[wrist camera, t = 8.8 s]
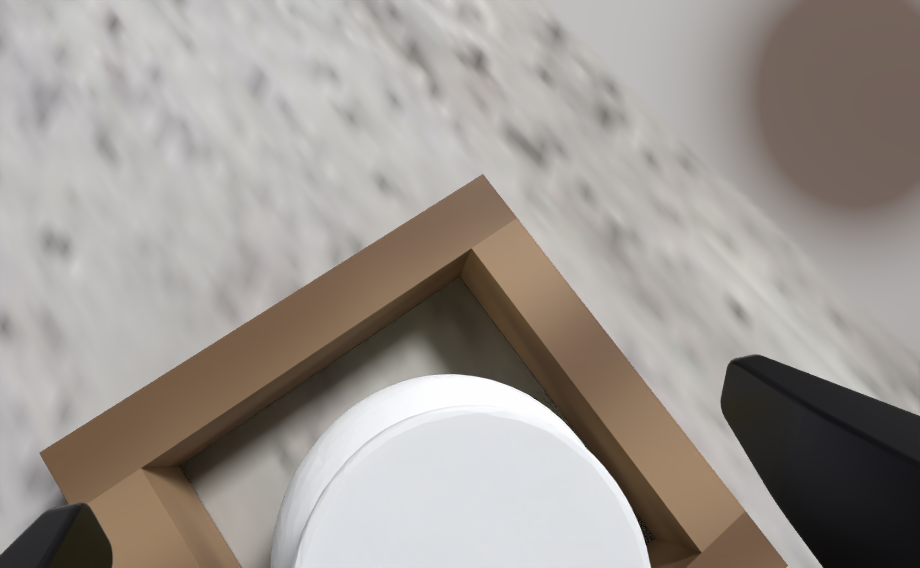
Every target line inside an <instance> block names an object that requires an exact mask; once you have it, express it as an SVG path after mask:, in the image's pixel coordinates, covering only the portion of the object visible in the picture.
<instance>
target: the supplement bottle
mask: <svg viewBox="0 0 920 568" xmlns="http://www.w3.org/2000/svg"><path fill="white" fill-rule="evenodd" d="M270 568H651V566H650V561H649V557H648V552H647V547H646V544H645V541H644V538H643V534H642V531H641V528H640V526H639V524H638V521H637V519H636V517H635V515H634V512H633V510H632V508H631V506H630V504H629V502H628V501H627V499H626V497H625V496H624V494H623V492H622V491H621V489H620V488H619V486H618V484H617V483H616V481H615V480H614V479H613V478H612V476H611V475H610V474H609V472H608V471H607V470H606V469H605V467H604V466H603V465H602V464H601V463H600V462H599V461H598V459H597V458H596V457H595V456H594V455H593V454H592V453H591V452H590V451H589V450H587V449H586V447H585V446H584V444H583V443H582V442H581V440H580V439H579V438H578V437H577V436H576V435H575V433H574V432H573V431H572V430H571V429H570V428H569V427H568V426H567V425H566V424H565V423H564V422H563V421H562V420H561V419H560V418H559V417H558V416H557V415H555V414H554V413H553V412H552V411H551V410H550V409H548V408H547V407H546V406H544V405H543V404H541V403H540V402H538V401H537V400H535V399H534V398H532V397H531V396H529V395H528V394H526V393H523V392H521V391H519V390H517V389H515V388H513V387H511V386H508V385H505V384H502V383H499V382H496V381H493V380H490V379H485V378H481V377H476V376H468V375H458V374H444V375H429V376H424V377H418V378H413V379H409V380H405V381H402V382H400V383H397V384H394V385H391V386H389V387H386V388H384V389H382V390H380V391H378V392H376V393H374V394H372V395H370V396H368V397H367V398H365V399H363V400H362V401H360V402H358V403H357V404H356V405H354V406H353V407H352V408H350V409H349V410H347V411H346V412H345V413H344V414H342V415H341V416H340V417H339V418H338V419H337V420H336V421H335V422H334V423H332V425H331V426H330V427H329V428H328V429H327V430H326V431H325V432H324V433H323V434H322V435H321V436H320V438H319V439H318V440H317V441H316V443H315V444H314V445H313V446H312V448H311V449H310V450H309V452H308V453H307V454H306V456H305V457H304V459H303V460H302V462H301V463H300V465H299V467H298V469H297V470H296V472H295V474H294V476H293V478H292V480H291V482H290V484H289V486H288V488H287V490H286V493H285V496H284V499H283V501H282V504H281V507H280V511H279V514H278V517H277V522H276V526H275V530H274V535H273V541H272V550H271V563H270Z"/></svg>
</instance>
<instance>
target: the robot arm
mask: <svg viewBox="0 0 920 568" xmlns="http://www.w3.org/2000/svg"><path fill="white" fill-rule="evenodd" d="M721 409H722V412H723V415H724V417H725V419H726V420H727V422H728V424H729V426H730V427H731V429H732V431H733V432H734V434H735V436H736V437H737V439H738V441H739V442H740V444H741V446H742V447H743V449H744V451H745V452H746V454H747V456H748V457H749V459H750V461H751V462H752V464H753V466H754V467H755V469H756V471H757V472H758V474H759V476H760V478H761V479H762V481H763V483H764V484H765V486H766V488H767V489H768V491H769V492H770V494H771V495H772V497H773V499H774V500H775V502H776V503H777V505H778V506H779V508H780V509H781V511H782V512H783V513H784V515H785V516H786V518H787V519H788V520H789V522H790V523H791V525H792V526H793V527H794V529H795V530H796V531H797V533H798V534H799V535H800V537H801V538H802V539H803V541H804V542H805V544H806V545H807V546H808V548H809V549H810V550H811V552H812V553H813V554H814V556H815V557H816V559H817V560H818V561H819V563H820V564H821V565H822V567H823V568H920V416H919V415H916V414H913V413H911V412H908V411H905V410H903V409H900V408H898V407H895V406H892V405H890V404H887V403H884V402H882V401H879V400H877V399H874V398H871V397H869V396H866V395H864V394H861V393H858V392H856V391H853V390H850V389H848V388H845V387H843V386H840V385H837V384H835V383H832V382H830V381H827V380H824V379H822V378H819V377H816V376H814V375H811V374H809V373H806V372H803V371H801V370H798V369H796V368H793V367H790V366H788V365H785V364H782V363H780V362H777V361H775V360H772V359H769V358H767V357H764V356H761V355H749V356H744V357H739V358H735V359H733V360H731V361H730V363H729V364H728V366H727V370H726V375H725V380H724V385H723V390H722V395H721ZM112 565H113V552H112V546H111V543H110V541H109V539H108V537H107V535H106V534H105V532H104V530H103V528H102V527H101V525H100V523H99V521H98V519H97V518H96V516H95V514H94V512H93V511H92V509H91V508H90V506H89V505H87V504H86V503H81V502H78V503H73V504H69V505H64V506H60V507H55V508H52V509H49V510H47V511H46V512H44V513H43V514H42V515H41V516H40V517H39V518H38V519H37V520H36V521H35V522H34V523H33V524H32V525H30V526H29V527H28V528H27V529H26V530H25V531H24V532H23V533H22V534H21V535H20V536H19V537H18V538H17V539H16V540H15V541H14V542H13V543H12V544H11V545H10V546H9V547H8V548H7V549H6V550H5V551H4V552H3V553H2V554H1V555H0V568H112Z"/></svg>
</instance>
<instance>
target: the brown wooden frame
mask: <svg viewBox="0 0 920 568" xmlns="http://www.w3.org/2000/svg"><path fill="white" fill-rule="evenodd" d="M458 277H461V279H462V280H463V281H464V283H465V284H466V285H467V287H468V288H469V289H470V291H471V292H472V293H473V295H474V296H475V297H476V299H477V300H478V301H479V303H480V304H481V305H482V307H483V308H484V309H485V311H486V312H487V313H488V315H489V316H490V317H491V319H492V320H493V321H494V323H495V324H496V326H497V327H498V328H499V330H500V331H501V332H502V334H503V335H504V336H505V338H506V339H507V340H508V342H509V343H510V344H511V346H512V347H513V348H514V350H515V351H516V352H517V354H518V355H519V356H520V358H521V359H522V360H523V362H524V363H525V364H526V366H527V367H528V368H529V370H530V371H531V372H532V374H533V375H534V377H535V378H536V379H537V381H538V382H539V383H540V385H541V386H542V387H543V389H544V390H545V391H546V393H547V394H548V395H549V397H550V398H551V399H552V401H553V402H554V403H555V405H556V406H557V407H558V409H559V410H560V411H561V413H562V414H563V415H564V417H565V418H566V419H567V421H568V422H569V423H570V425H571V426H572V428H573V429H574V430H575V432H576V433H577V434H578V436H579V437H580V438H581V440H582V441H583V442H584V444H585V445H586V446H587V448H588V449H589V450H590V452H591V453H592V454H593V455H594V456H595V457H596V458H597V459H598V461H599V462H600V463H601V464H602V465H603V466H604V467H605V469H606V470H607V471H608V472H609V474H610V475H611V476H612V478H613V479H614V480H615V481H616V483H617V484H618V486H619V488H620V489H621V491H622V492H623V494H624V496H625V497H626V499H627V501H628V502H629V504H630V505H631V507H632V508H633V509H634V511H635V512H636V513H637V515H638V516H639V517H640V519H641V520H642V521H643V523H644V524H645V526H646V527H647V528H648V530H649V531H650V532H651V534H652V535H653V536H654V539H653V540H652V541H651V542H650V543H649V544H648V545H646V547H647V552H648V557H649V561H650V566H651V568H786V567H787V566H788V565H787V564H786V562H785V561H784V560H783V559H782V557H781V556H780V555H779V554H778V552H777V551H776V550H775V548H774V547H773V546H772V545H771V543H770V542H769V541H768V539H767V538H766V537H765V536H764V534H763V533H762V532H761V530H760V529H759V528H758V527H757V525H756V524H755V523H754V521H753V520H752V519H751V518H750V516H749V515H748V514H747V512H746V511H745V510H744V509H743V507H742V506H741V505H740V503H739V502H738V501H737V500H736V498H735V497H734V496H733V494H732V493H731V492H730V491H729V489H728V488H727V487H726V485H725V484H724V483H723V482H722V480H721V479H720V478H719V476H718V475H717V474H716V473H715V471H714V470H713V469H712V468H711V466H710V465H709V464H708V462H707V461H706V460H705V459H704V457H703V456H702V455H701V453H700V452H699V451H698V450H697V448H696V447H695V446H694V444H693V443H692V442H691V441H690V439H689V438H688V437H687V435H686V434H685V433H684V432H683V430H682V429H681V428H680V426H679V425H678V424H677V423H676V421H675V420H674V419H673V417H672V416H671V415H670V414H669V412H668V411H667V410H666V408H665V407H664V406H663V405H662V403H661V402H660V401H659V399H658V398H657V397H656V396H655V394H654V393H653V392H652V390H651V389H650V388H649V387H648V385H647V384H646V383H645V382H644V380H643V379H642V378H641V376H640V375H639V374H638V373H637V371H636V370H635V369H634V367H633V366H632V365H631V364H630V362H629V361H628V360H627V358H626V357H625V356H624V355H623V353H622V352H621V351H620V349H619V348H618V347H617V346H616V344H615V343H614V342H613V340H612V339H611V338H610V337H609V335H608V334H607V333H606V331H605V330H604V329H603V328H602V326H601V325H600V324H599V322H598V321H597V320H596V319H595V317H594V316H593V315H592V313H591V312H590V311H589V310H588V308H587V307H586V306H585V304H584V303H583V302H582V301H581V299H580V298H579V297H578V296H577V294H576V293H575V292H574V290H573V289H572V288H571V287H570V285H569V284H568V283H567V281H566V280H565V279H564V278H563V276H562V275H561V274H560V272H559V271H558V270H557V269H556V267H555V266H554V265H553V263H552V262H551V261H550V260H549V258H548V257H547V256H546V254H545V253H544V252H543V251H542V249H541V248H540V247H539V245H538V244H537V243H536V242H535V240H534V239H533V238H532V236H531V235H530V234H529V233H528V231H527V230H526V229H525V227H524V226H523V225H522V224H521V222H520V221H519V220H518V218H517V217H516V216H515V215H514V213H513V212H512V211H511V210H510V208H509V207H508V206H507V204H506V203H505V202H504V201H503V199H502V198H501V197H500V195H499V194H498V193H497V192H496V190H495V189H494V188H493V186H492V185H491V184H490V183H489V181H488V180H487V179H486V177H485V176H484V175H483V174H482V175H481V176H479V177H478V178H476V179H474V180H473V181H471V182H470V183H468V184H466V185H465V186H463V187H462V188H460V189H459V190H457V191H455V192H454V193H452V194H451V195H449V196H447V197H446V198H444V199H443V200H441V201H439V202H438V203H436V204H435V205H433V206H431V207H430V208H428V209H427V210H425V211H423V212H422V213H420V214H419V215H417V216H416V217H414V218H412V219H411V220H409V221H408V222H406V223H404V224H403V225H401V226H400V227H398V228H396V229H395V230H393V231H392V232H390V233H388V234H387V235H385V236H384V237H382V238H381V239H379V240H377V241H376V242H374V243H373V244H371V245H369V246H368V247H366V248H365V249H363V250H361V251H360V252H358V253H357V254H355V255H353V256H352V257H350V258H349V259H347V260H346V261H344V262H342V263H341V264H339V265H338V266H336V267H334V268H333V269H331V270H330V271H328V272H326V273H325V274H323V275H322V276H320V277H318V278H317V279H315V280H314V281H312V282H311V283H309V284H307V285H306V286H304V287H303V288H301V289H299V290H298V291H296V292H295V293H293V294H291V295H290V296H288V297H287V298H285V299H283V300H282V301H280V302H279V303H277V304H275V305H274V306H272V307H271V308H269V309H268V310H266V311H264V312H263V313H261V314H260V315H258V316H256V317H255V318H253V319H252V320H250V321H248V322H247V323H245V324H244V325H242V326H240V327H239V328H237V329H236V330H234V331H233V332H231V333H229V334H228V335H226V336H225V337H223V338H221V339H220V340H218V341H217V342H215V343H213V344H212V345H210V346H209V347H207V348H205V349H204V350H202V351H201V352H199V353H198V354H196V355H194V356H193V357H191V358H190V359H188V360H186V361H185V362H183V363H182V364H180V365H178V366H177V367H175V368H174V369H172V370H170V371H169V372H167V373H166V374H164V375H162V376H161V377H159V378H158V379H156V380H155V381H153V382H151V383H150V384H148V385H147V386H145V387H143V388H142V389H140V390H139V391H137V392H135V393H134V394H132V395H131V396H129V397H127V398H126V399H124V400H123V401H121V402H120V403H118V404H116V405H115V406H113V407H112V408H110V409H108V410H107V411H105V412H104V413H102V414H100V415H99V416H97V417H96V418H94V419H92V420H91V421H89V422H88V423H86V424H85V425H83V426H81V427H80V428H78V429H77V430H75V431H73V432H72V433H70V434H69V435H67V436H65V437H64V438H62V439H61V440H59V441H57V442H56V443H54V444H53V445H51V446H50V447H48V448H46V449H45V450H43V451H42V452H40V455H41V457H42V459H43V460H44V462H45V464H46V466H47V467H48V469H49V471H50V473H51V474H52V476H53V478H54V480H55V481H56V483H57V485H58V487H59V488H60V490H61V492H62V494H63V495H64V497H65V499H66V501H67V502H68V504H73V503H78V502H81V503H86V504H87V505H89V506H90V508H91V509H92V511H93V512H94V514H95V516H96V518H97V519H98V521H99V523H100V525H101V527H102V528H103V530H104V532H105V534H106V535H107V537H108V539H109V541H110V543H111V546H112V552H113V565H112V568H242V567H241V565H240V564H239V562H238V561H237V559H236V557H235V556H234V554H233V552H232V551H231V549H230V548H229V546H228V544H227V543H226V541H225V539H224V538H223V536H222V534H221V533H220V531H219V530H218V528H217V526H216V525H215V523H214V521H213V520H212V518H211V517H210V515H209V513H208V512H207V510H206V508H205V507H204V505H203V504H202V502H201V500H200V499H199V497H198V495H197V494H196V492H195V490H194V489H193V487H192V486H191V484H190V482H189V481H188V479H187V477H186V476H185V474H184V473H183V471H182V469H181V468H180V465H182V464H183V463H185V462H186V461H188V460H189V459H190V458H192V457H193V456H195V455H196V454H198V453H199V452H201V451H202V450H204V449H205V448H207V447H208V446H210V445H211V444H213V443H214V442H216V441H217V440H219V439H220V438H222V437H223V436H224V435H226V434H227V433H229V432H230V431H232V430H233V429H235V428H236V427H238V426H239V425H241V424H242V423H244V422H245V421H247V420H248V419H250V418H251V417H253V416H254V415H256V414H257V413H258V412H260V411H261V410H263V409H264V408H266V407H267V406H269V405H270V404H272V403H273V402H275V401H276V400H278V399H279V398H281V397H282V396H284V395H285V394H287V393H288V392H290V391H291V390H293V389H294V388H295V387H297V386H298V385H300V384H301V383H303V382H304V381H306V380H307V379H309V378H310V377H312V376H313V375H315V374H316V373H318V372H319V371H321V370H322V369H324V368H325V367H327V366H328V365H329V364H331V363H332V362H334V361H335V360H337V359H338V358H340V357H341V356H343V355H344V354H346V353H347V352H349V351H350V350H352V349H353V348H355V347H356V346H358V345H359V344H361V343H362V342H363V341H365V340H366V339H368V338H369V337H371V336H372V335H374V334H375V333H377V332H378V331H380V330H381V329H383V328H384V327H386V326H387V325H389V324H390V323H392V322H393V321H395V320H396V319H397V318H399V317H400V316H402V315H403V314H405V313H406V312H408V311H409V310H411V309H412V308H414V307H415V306H417V305H418V304H420V303H421V302H423V301H424V300H426V299H427V298H429V297H430V296H432V295H433V294H434V293H436V292H437V291H439V290H440V289H442V288H443V287H445V286H446V285H448V284H449V283H451V282H452V281H454V280H455V279H457V278H458Z"/></svg>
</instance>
